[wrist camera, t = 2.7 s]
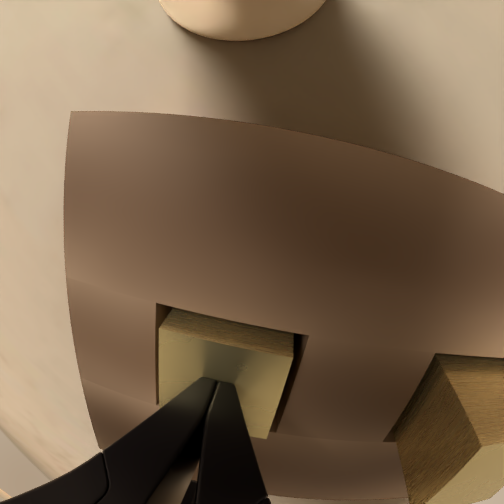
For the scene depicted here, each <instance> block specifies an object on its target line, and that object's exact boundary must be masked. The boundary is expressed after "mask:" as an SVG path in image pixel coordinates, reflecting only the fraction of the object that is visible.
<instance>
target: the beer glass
mask: <svg viewBox="0 0 504 504" xmlns="http://www.w3.org/2000/svg"><path fill="white" fill-rule="evenodd" d="M159 2H160V4H161V6H162V7H163V9H164V10H165V12H166V13H167V14H168V15H169V16H170V17H171V19H173V20H174V21H175V22H176V23H177V24H179V25H180V26H181V27H183V28H185V29H187V30H189V31H191V32H193V33H196V34H198V35H201V36H204V37H208V38H212V39H218V40H226V41H247V40H256V39H261V38H266V37H270V36H274V35H277V34H280V33H283V32H285V31H287V30H290V29H292V28H294V27H296V26H298V25H299V24H301V23H302V22H304V21H305V20H307V19H308V18H309V17H311V16H312V15H313V14H314V13H315V12H316V11H317V10H318V9H319V8H320V7H321V6H322V4H323V3H324V2H325V0H159Z"/></svg>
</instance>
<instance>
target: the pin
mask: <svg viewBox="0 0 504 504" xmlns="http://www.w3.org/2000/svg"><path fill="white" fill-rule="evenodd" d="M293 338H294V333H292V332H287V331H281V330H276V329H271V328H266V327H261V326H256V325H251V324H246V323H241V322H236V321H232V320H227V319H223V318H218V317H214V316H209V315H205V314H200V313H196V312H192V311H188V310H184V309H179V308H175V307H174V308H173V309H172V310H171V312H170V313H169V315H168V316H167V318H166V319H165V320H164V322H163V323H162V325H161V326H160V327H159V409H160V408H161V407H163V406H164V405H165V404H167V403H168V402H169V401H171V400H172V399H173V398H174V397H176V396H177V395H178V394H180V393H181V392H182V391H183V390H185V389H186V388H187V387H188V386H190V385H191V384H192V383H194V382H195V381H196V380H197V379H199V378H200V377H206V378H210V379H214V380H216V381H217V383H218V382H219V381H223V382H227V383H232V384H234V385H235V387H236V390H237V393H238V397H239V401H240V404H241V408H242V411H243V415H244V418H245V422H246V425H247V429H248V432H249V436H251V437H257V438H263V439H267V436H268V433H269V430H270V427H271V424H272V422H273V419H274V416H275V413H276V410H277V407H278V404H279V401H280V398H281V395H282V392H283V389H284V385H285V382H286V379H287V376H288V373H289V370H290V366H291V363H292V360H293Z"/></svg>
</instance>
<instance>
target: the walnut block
mask: <svg viewBox="0 0 504 504" xmlns="http://www.w3.org/2000/svg"><path fill="white" fill-rule="evenodd" d="M64 253H65V270H66V283H67V294H68V303H69V312H70V320H71V327H72V334H73V340H74V346H75V352H76V357H77V363H78V368H79V373H80V377H81V382H82V387H83V391H84V395H85V399H86V403H87V407H88V411H89V415H90V419H91V422H92V426H93V429H94V433H95V436H96V439H97V442H98V446H99V448H100V449H103V450H104V449H105V448H107V447H108V446H110V445H111V444H113V443H114V442H115V441H117V440H118V439H120V438H121V437H122V436H124V435H125V434H126V433H128V432H129V431H131V430H132V429H133V428H135V427H136V426H137V425H139V424H140V423H141V422H143V421H144V420H145V419H147V418H148V417H150V416H151V415H152V414H154V413H155V412H156V411H157V410H159V327H160V326H161V325H162V323H163V322H164V320H165V319H166V318H167V316H168V315H169V313H170V312H171V310H172V309H173V308H174V307H175V308H179V309H184V310H188V311H192V312H196V313H200V314H205V315H209V316H214V317H218V318H223V319H227V320H232V321H236V322H241V323H246V324H251V325H256V326H261V327H266V328H271V329H276V330H281V331H287V332H292V333H294V338H293V360H292V363H291V366H290V370H289V373H288V376H287V379H286V382H285V385H284V389H283V392H282V395H281V398H280V401H279V404H278V407H277V410H276V413H275V416H274V419H273V422H272V424H271V427H270V430H269V433H268V436H267V439H263V438H257V437H251V436H250V439H251V442H252V446H253V449H254V452H255V456H256V459H257V462H258V465H259V469H260V472H261V475H262V478H263V481H264V484H265V488H266V491H267V494H268V495H275V496H284V497H294V498H306V499H323V500H376V499H393V498H405V497H408V493H407V488H406V483H405V479H404V474H403V470H402V465H401V461H400V457H399V453H398V449H397V445H396V441H395V437H394V433H393V429H392V427H393V425H394V424H395V422H396V421H397V419H398V418H399V416H400V415H401V413H402V411H403V410H404V408H405V407H406V405H407V403H408V402H409V400H410V398H411V397H412V395H413V393H414V392H415V390H416V388H417V386H418V385H419V383H420V381H421V379H422V377H423V376H424V374H425V372H426V370H427V368H428V366H429V364H430V363H431V361H432V359H433V357H434V355H435V353H443V354H454V355H467V356H480V357H497V358H504V194H502V193H500V192H498V191H495V190H493V189H491V188H488V187H486V186H483V185H481V184H478V183H476V182H473V181H470V180H468V179H465V178H463V177H460V176H457V175H454V174H452V173H449V172H446V171H443V170H440V169H437V168H434V167H431V166H428V165H425V164H422V163H419V162H416V161H413V160H410V159H406V158H403V157H400V156H396V155H393V154H389V153H386V152H382V151H379V150H375V149H371V148H368V147H364V146H360V145H356V144H352V143H348V142H344V141H340V140H335V139H331V138H327V137H322V136H317V135H313V134H308V133H303V132H298V131H293V130H287V129H282V128H276V127H270V126H264V125H258V124H252V123H245V122H238V121H231V120H223V119H215V118H206V117H196V116H186V115H174V114H160V113H143V112H116V111H71V114H70V122H69V130H68V139H67V150H66V163H65V180H64ZM198 468H199V463H198V465H197V468H196V470H195V472H194V475H193V477H192V479H191V480H195V481H197V476H198Z"/></svg>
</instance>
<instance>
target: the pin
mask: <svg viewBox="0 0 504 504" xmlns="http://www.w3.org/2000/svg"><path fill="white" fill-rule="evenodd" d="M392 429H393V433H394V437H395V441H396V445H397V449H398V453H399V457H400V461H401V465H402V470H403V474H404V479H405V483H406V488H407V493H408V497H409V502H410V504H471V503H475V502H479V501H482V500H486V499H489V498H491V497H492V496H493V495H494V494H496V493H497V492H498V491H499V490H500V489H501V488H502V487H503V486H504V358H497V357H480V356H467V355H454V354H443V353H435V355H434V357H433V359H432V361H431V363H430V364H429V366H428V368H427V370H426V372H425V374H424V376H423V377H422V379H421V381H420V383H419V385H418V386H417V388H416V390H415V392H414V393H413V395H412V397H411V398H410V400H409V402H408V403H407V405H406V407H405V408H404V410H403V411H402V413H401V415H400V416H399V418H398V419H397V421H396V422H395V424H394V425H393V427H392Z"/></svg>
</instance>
